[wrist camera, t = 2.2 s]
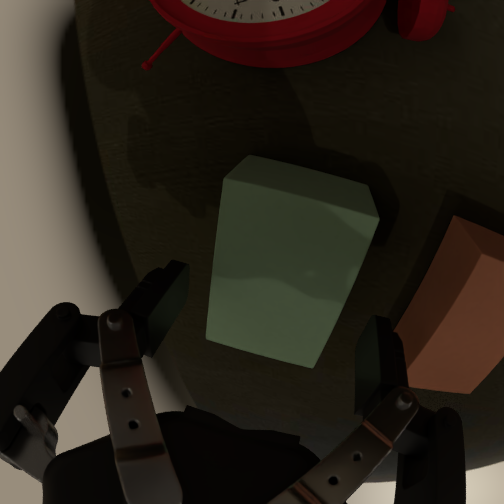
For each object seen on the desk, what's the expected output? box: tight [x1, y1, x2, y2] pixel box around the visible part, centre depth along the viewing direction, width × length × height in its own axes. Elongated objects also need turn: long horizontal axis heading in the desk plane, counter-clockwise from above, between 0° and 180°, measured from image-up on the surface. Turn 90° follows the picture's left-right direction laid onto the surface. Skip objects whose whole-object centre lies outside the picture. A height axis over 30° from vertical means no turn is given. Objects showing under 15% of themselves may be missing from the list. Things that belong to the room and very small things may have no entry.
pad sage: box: [206, 155, 379, 368], centre depth 15 cm, size 9×6×4 cm, turn 170°
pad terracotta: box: [393, 215, 504, 394], centre depth 14 cm, size 9×6×4 cm, turn 170°
